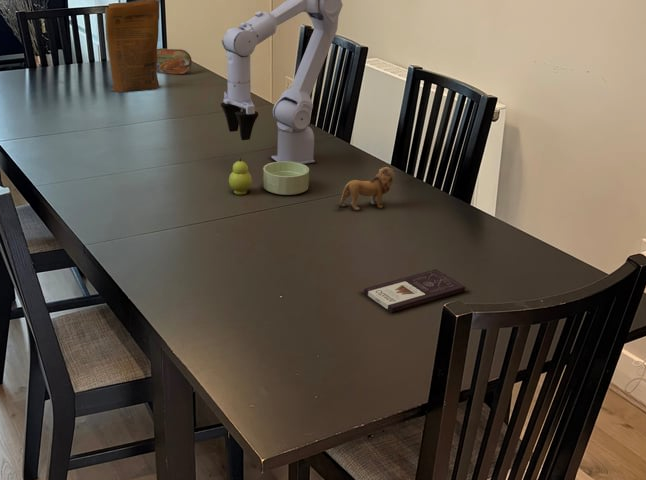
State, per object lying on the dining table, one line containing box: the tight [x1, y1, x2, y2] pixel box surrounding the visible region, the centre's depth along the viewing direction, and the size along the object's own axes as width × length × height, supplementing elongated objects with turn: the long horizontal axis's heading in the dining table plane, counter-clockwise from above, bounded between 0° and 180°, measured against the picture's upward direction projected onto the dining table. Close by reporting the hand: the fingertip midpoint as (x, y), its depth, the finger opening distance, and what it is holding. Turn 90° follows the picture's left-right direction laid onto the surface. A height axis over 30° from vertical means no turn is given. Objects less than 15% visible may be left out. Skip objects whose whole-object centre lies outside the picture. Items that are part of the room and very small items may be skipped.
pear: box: [228, 155, 253, 195], centre depth 202 cm, size 6×6×9 cm
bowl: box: [262, 161, 311, 196], centre depth 207 cm, size 11×11×5 cm
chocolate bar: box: [363, 269, 466, 313], centre depth 162 cm, size 9×1×18 cm
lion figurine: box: [336, 166, 395, 211], centre depth 197 cm, size 15×5×9 cm, turn 116°
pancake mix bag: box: [104, 0, 160, 93], centre depth 274 cm, size 7×19×28 cm, turn 118°
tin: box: [157, 47, 193, 75], centre depth 300 cm, size 15×3×8 cm, turn 80°
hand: (239, 135), depth 212 cm, fingers open, 7 cm apart
